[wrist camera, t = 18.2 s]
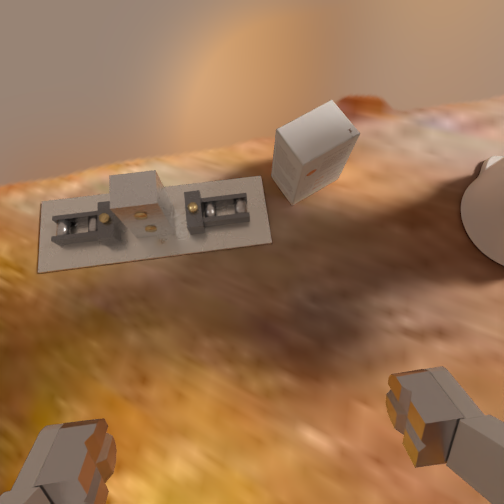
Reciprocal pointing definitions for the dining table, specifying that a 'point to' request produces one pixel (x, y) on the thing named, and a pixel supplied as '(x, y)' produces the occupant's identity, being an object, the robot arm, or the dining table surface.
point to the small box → (312, 151)
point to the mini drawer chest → (142, 204)
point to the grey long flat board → (135, 249)
